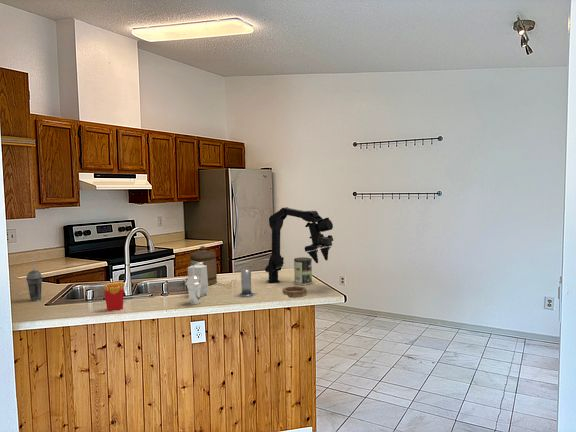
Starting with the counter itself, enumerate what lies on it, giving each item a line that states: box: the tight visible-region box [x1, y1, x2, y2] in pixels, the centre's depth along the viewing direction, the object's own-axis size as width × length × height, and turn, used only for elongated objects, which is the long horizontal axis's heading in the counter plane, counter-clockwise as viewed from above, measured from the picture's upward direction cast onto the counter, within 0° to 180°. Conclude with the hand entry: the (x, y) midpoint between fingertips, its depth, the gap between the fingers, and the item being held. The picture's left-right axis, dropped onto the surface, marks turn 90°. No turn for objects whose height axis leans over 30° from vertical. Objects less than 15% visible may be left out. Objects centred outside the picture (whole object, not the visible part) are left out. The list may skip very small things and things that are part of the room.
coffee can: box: [293, 256, 313, 286], centre depth 253 cm, size 10×10×14 cm
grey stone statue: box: [185, 262, 204, 305], centre depth 215 cm, size 8×9×20 cm
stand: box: [234, 292, 259, 299], centre depth 225 cm, size 9×9×1 cm
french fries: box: [103, 280, 126, 312], centre depth 206 cm, size 9×4×13 cm, turn 109°
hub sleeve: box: [239, 268, 254, 298], centre depth 225 cm, size 7×7×13 cm
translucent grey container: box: [189, 245, 218, 287], centre depth 256 cm, size 15×15×22 cm
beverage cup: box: [25, 261, 43, 302], centre depth 224 cm, size 7×7×20 cm
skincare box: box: [187, 265, 209, 298], centre depth 230 cm, size 8×7×16 cm
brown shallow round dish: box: [282, 285, 308, 298], centre depth 229 cm, size 13×13×3 cm
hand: (322, 261), depth 236 cm, fingers open, 9 cm apart
